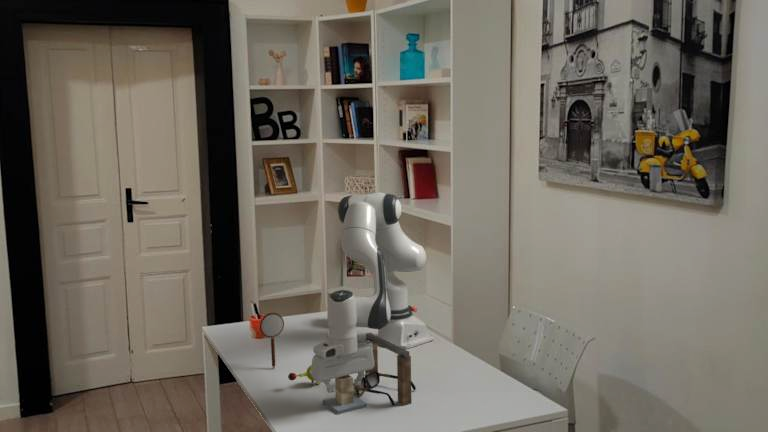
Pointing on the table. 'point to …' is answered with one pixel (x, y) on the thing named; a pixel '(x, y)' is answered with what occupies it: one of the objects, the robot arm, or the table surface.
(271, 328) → the magnifying glass
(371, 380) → the sunglasses
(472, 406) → the table surface
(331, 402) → the pad
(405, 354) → the rod
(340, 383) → the block
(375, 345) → the rod stand
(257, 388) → the table surface
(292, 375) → the toy figure
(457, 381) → the table surface
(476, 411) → the table surface
